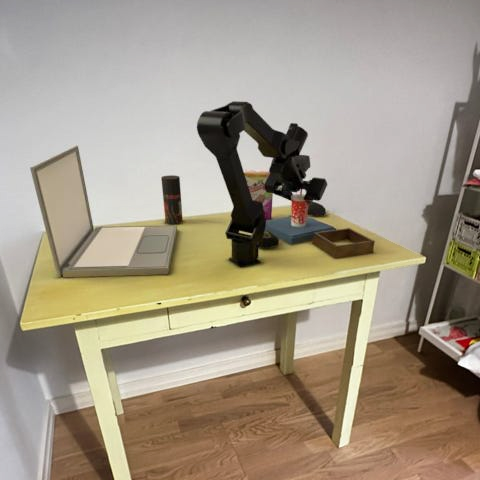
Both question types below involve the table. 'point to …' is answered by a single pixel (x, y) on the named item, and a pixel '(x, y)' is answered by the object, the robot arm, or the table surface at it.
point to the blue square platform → (295, 229)
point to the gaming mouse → (316, 209)
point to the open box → (357, 246)
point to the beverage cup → (298, 210)
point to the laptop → (82, 232)
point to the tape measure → (268, 240)
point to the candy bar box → (259, 189)
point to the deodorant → (172, 199)
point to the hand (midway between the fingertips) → (302, 201)
